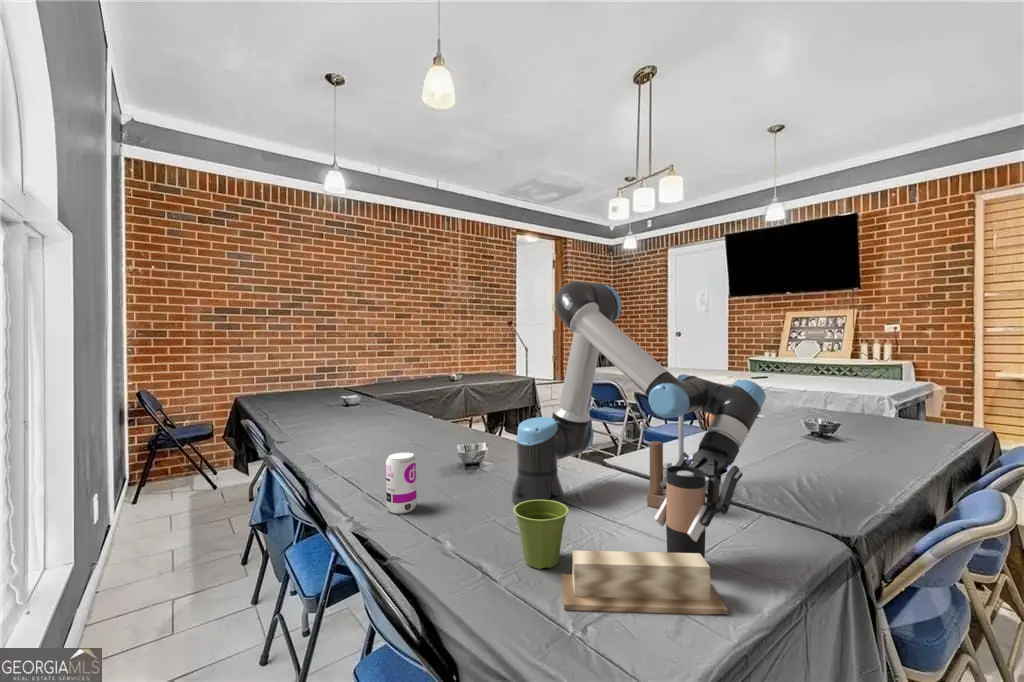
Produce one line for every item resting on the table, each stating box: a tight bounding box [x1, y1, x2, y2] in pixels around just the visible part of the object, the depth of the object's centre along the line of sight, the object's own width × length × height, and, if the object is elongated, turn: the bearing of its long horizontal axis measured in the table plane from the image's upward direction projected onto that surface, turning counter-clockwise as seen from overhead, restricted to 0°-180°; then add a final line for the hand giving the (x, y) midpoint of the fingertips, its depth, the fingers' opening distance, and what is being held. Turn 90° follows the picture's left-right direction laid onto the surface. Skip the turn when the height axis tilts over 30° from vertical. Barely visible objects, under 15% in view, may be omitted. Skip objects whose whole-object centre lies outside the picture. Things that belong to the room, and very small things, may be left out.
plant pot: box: [512, 500, 570, 570], centre depth 96 cm, size 12×12×11 cm
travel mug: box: [665, 465, 707, 560], centre depth 93 cm, size 8×8×20 cm
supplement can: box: [385, 451, 418, 515], centre depth 126 cm, size 8×8×15 cm
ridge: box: [561, 549, 728, 616], centre depth 83 cm, size 28×10×7 cm, turn 86°
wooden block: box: [646, 440, 690, 510], centre depth 124 cm, size 4×11×18 cm, turn 47°
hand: (674, 529), depth 92 cm, fingers closed on travel mug, 7 cm apart
